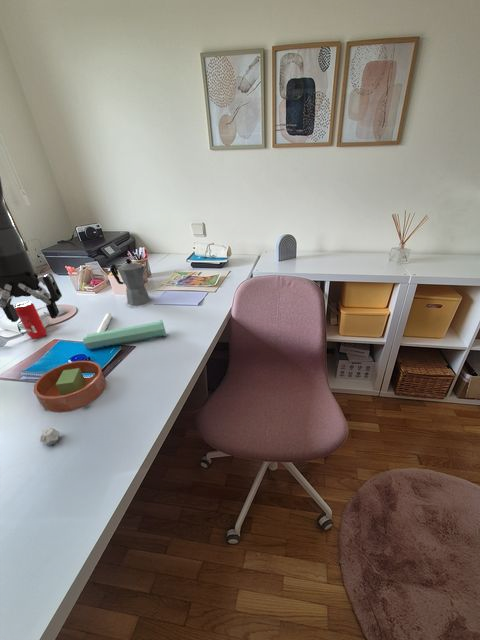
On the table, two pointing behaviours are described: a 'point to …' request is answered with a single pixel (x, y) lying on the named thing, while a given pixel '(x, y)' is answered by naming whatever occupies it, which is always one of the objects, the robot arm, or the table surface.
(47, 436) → the grey rock
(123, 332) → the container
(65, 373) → the sponge
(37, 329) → the beverage can
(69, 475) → the table surface
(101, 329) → the marker
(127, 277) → the coffeepot
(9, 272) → the robot arm
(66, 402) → the basin
